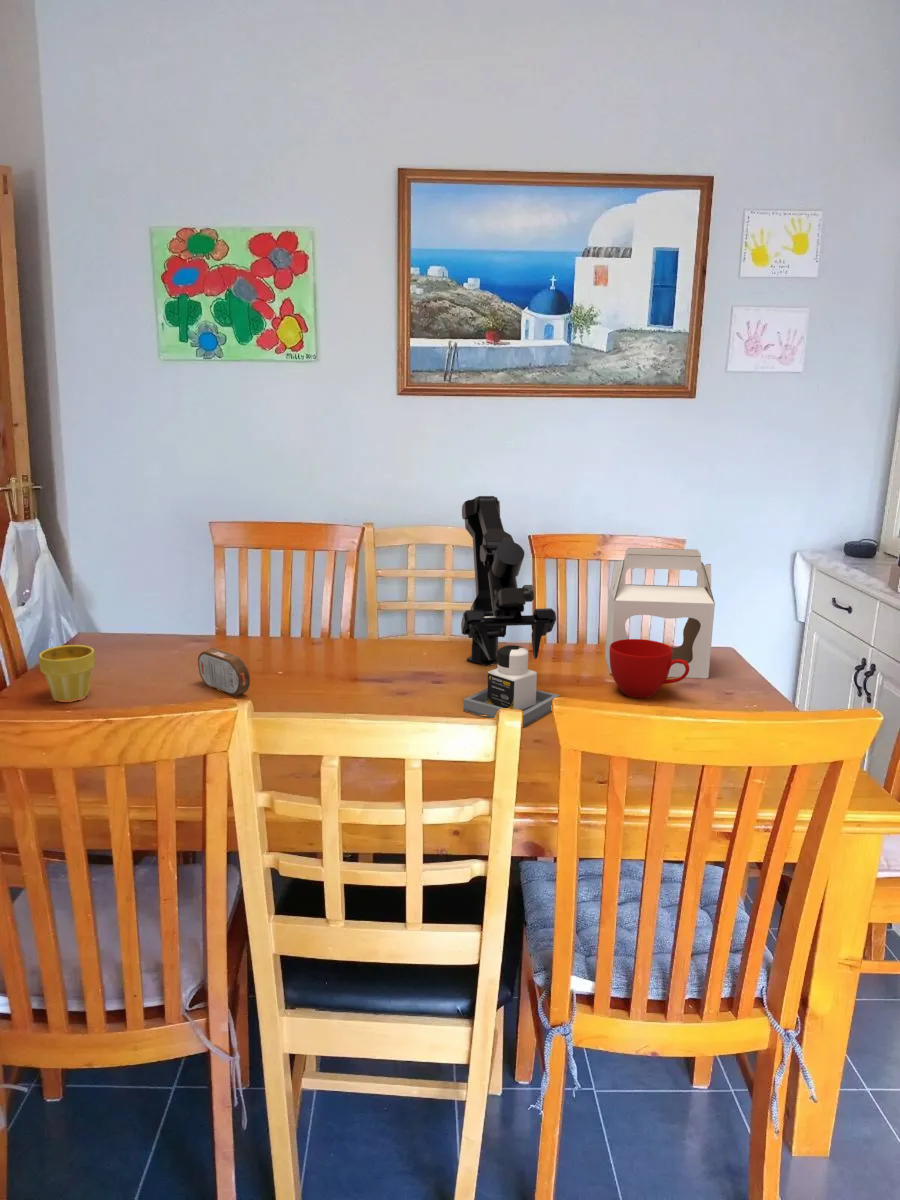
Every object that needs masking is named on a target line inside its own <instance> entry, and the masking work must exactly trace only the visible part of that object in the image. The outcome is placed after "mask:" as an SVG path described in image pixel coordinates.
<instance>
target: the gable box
mask: <svg viewBox="0 0 900 1200" xmlns="http://www.w3.org/2000/svg"><path fill="white" fill-rule="evenodd" d="M629 569H631V570H634V569H645V570H646V569H647V570H649V569H651V570H654V569H655V570H678V571H679V570H681V571H682V570H686V571H695V572H696V574H697V576H696V577H697V578H696V585H695V586H688V585H658V584H657V585H655V584H652V585H651V584H626V578H627V572H628V571H629ZM610 581H611V582H610V585H609V587H608V602H607V603H608V605H607V620H606V621H607V622H606V636H605V637H606V638H605V661H606V665H607V669H608V672H609V675H611V676H612V672H611V668H610V645H611V644H612V643H613V642H615V641H619V640H625V639H629V637H628V633H627V631H626V622H627V620H628V619H630V618H631V617H634V616H653V617H656V618H657V617H658V618H663V619H671V620H672V619H681V618H682V619H683V618H686V619H687V620H686V623H685V625H684V627H683V631H682V636H683V637H682V643H681V645H679V646H677V647H675V646H670V647H671V648H672V650H673V652H672V660H675V659H682V660H685V661H686V662H687V663H688V664H689V673H688V674H687V676H686V677H685V678H684V679H703V680H704V679H705V680H706V679H707V680H708V678H709V675H710V663H711V651H712V641H713V631H714V628H713V627H714V617H715V606H716V602H715V599H714V595H713V592H712V589H711V588H712V564H711V563H706V564H704V562H703V561H702V556H701V552H700V551H699V550H698V549H689V548H688V549H687V548H686V549H685V548H681V549H680V548H652V547H651V548H648V547H646V548H645V547H644V548H643V547H628V548H627V549H626V551H625V554H624V559H622V560H621V561H618V560H616V561H613V570H612V575H611V580H610ZM672 660H671V661H672ZM685 670H686V669H685V666H684V665H683V664H682V663H675V664H673V665H672V666H671V668H670V670H669V674H668V677H667V678H679V677H681V676H682V675H683V674H684V673H685Z"/></svg>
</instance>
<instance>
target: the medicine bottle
mask: <svg viewBox="0 0 900 1200" xmlns="http://www.w3.org/2000/svg"><path fill="white" fill-rule="evenodd" d="M528 665H529V651H528V649H527V648H525V647H523V646H520V645H505V646H501V647H500V648H498V662H497V665H496V667H497V668H495V669H491V670H488V671H487V688H488V691H487V704H491V705H495V706H499V707H502V708H510V709H519V710H523V709H526V708H529V707H531V706H534V705H535V704H536V689H537V681H538V680H537V675H538V673H537V671H535V670H532V669H528V668H529V667H528Z"/></svg>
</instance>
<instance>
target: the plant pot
mask: <svg viewBox="0 0 900 1200" xmlns="http://www.w3.org/2000/svg"><path fill="white" fill-rule="evenodd" d="M38 662H39V663H38V664H39V670H40V672H41V673H42V674H44V676H45V680H46V682H47V685H48V687H49V691H50V694H51V697H52V700H53V699H55V700H72V699H77V698H81V697H84V696H86V695H87V694H88V695H89V690H90V683H91V678H92V670H93V668H95V666H96V654H95V649H94V648H93V647H91V646H88V645H83V644H67V645H65V644H64V645H59V646H54V647H50V648H47V649H44V650H43V651H41V652H40V653H39V655H38Z"/></svg>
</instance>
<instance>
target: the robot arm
mask: <svg viewBox="0 0 900 1200" xmlns="http://www.w3.org/2000/svg"><path fill="white" fill-rule="evenodd" d="M500 502H501V501H500V500H498V497H497V496H494V495H478V496H476V497H474V498H473V499H467V500H466V501H464V502H463V504H462V505H461V517H462V520H464V526H465V530H466V531H467V533H468V534H469V535H470V537H471V538H472V548H473V550H472V551H473V564H474V579H475V580H474V581H475V583H474V584H475V595H476V596H475V599H474V600H473V602H472V604H471V606H470V609H468V610H467V609H466V610H465V611H464V612H463V613H462V614H463V615H462V617H461V622H460V623H461V624H460V628H461V635H463V636H464V635H465V636H468V638H469V639H471V641H472V642H471V655H470V656H469V657H467V658H466V661H467V662H470V661H471V663H475V662H476V663H475V664H479V663H480V664H479V665H483V664H484V666H488V665H489V666H492V665H494V664H497V663H498V650H499V638H505V637H506V635H507V626H509V627H510V626H511V627H513V626H531V630H532V632H531V634H530V635H531V644H532V654H533V658H534V660H537V659H538V657H539V656H538V655H539V651H540V646H541V645H540V644H541V639H542V637H544V636H546V635H547V634H548V633H550V632H552V631H553V629H554V626H555V623H556V622H557V615H556V612H555V610H554V609H552V607H551V608H549V607H548V608H546V607H545V608H534V612H533V614H532V615H531V614H530V615H529V614H528V615H527V614H526V615H523V614H522V613H523V612H524V611H525V605H526V603H527V602H528V603H529V602H531V603H532V602H533V600H534V599H535V591H534V586H533V584H524V585H523V586H522V587H518V583H517V577H518V576H519V574H520V570H521V567H522V564H523V562H524V557H525V550H524V549H523V546H521V545H520V544H519V543H516V542H515V541H514V537H513V536H512V535H511V534H510V533H508V532H506V531H505V529H504V525H503V522H502V519H501V503H500ZM493 663H494V664H493ZM491 664H492V665H491Z"/></svg>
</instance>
